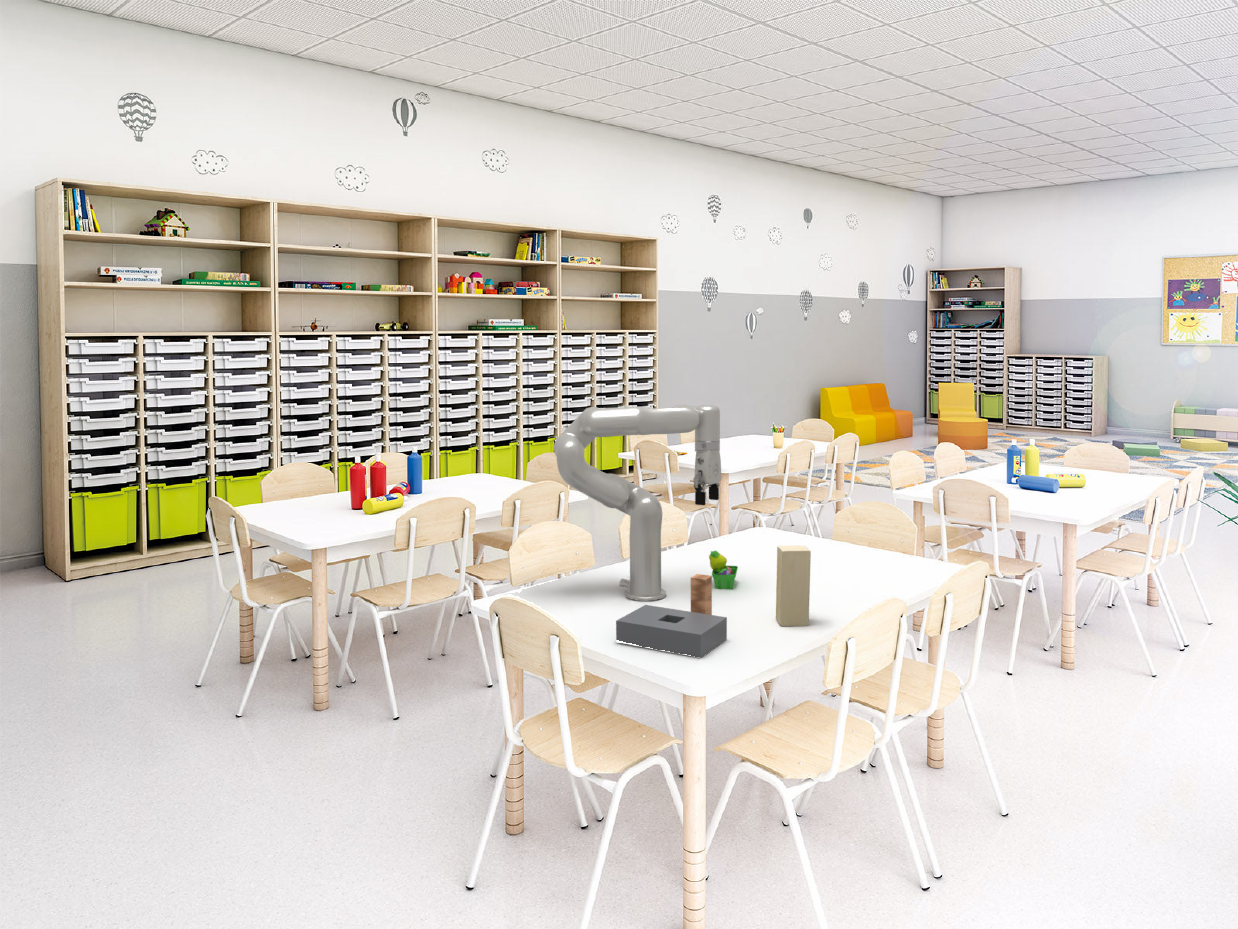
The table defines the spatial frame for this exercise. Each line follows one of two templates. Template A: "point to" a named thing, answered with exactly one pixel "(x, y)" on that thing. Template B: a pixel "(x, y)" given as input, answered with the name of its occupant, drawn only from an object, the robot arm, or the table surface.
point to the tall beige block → (793, 585)
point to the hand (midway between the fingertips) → (707, 502)
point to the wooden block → (701, 594)
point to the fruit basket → (722, 571)
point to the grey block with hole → (672, 630)
